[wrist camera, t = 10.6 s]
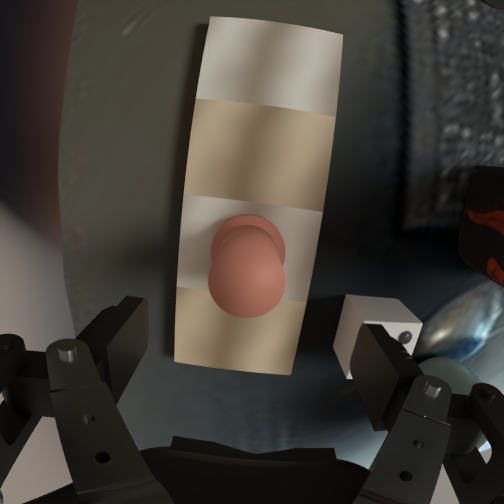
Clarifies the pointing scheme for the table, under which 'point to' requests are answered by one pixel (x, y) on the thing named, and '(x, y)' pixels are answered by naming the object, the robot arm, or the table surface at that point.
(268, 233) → the pawn
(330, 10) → the table surface
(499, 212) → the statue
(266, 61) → the board
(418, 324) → the die
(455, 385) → the cup
